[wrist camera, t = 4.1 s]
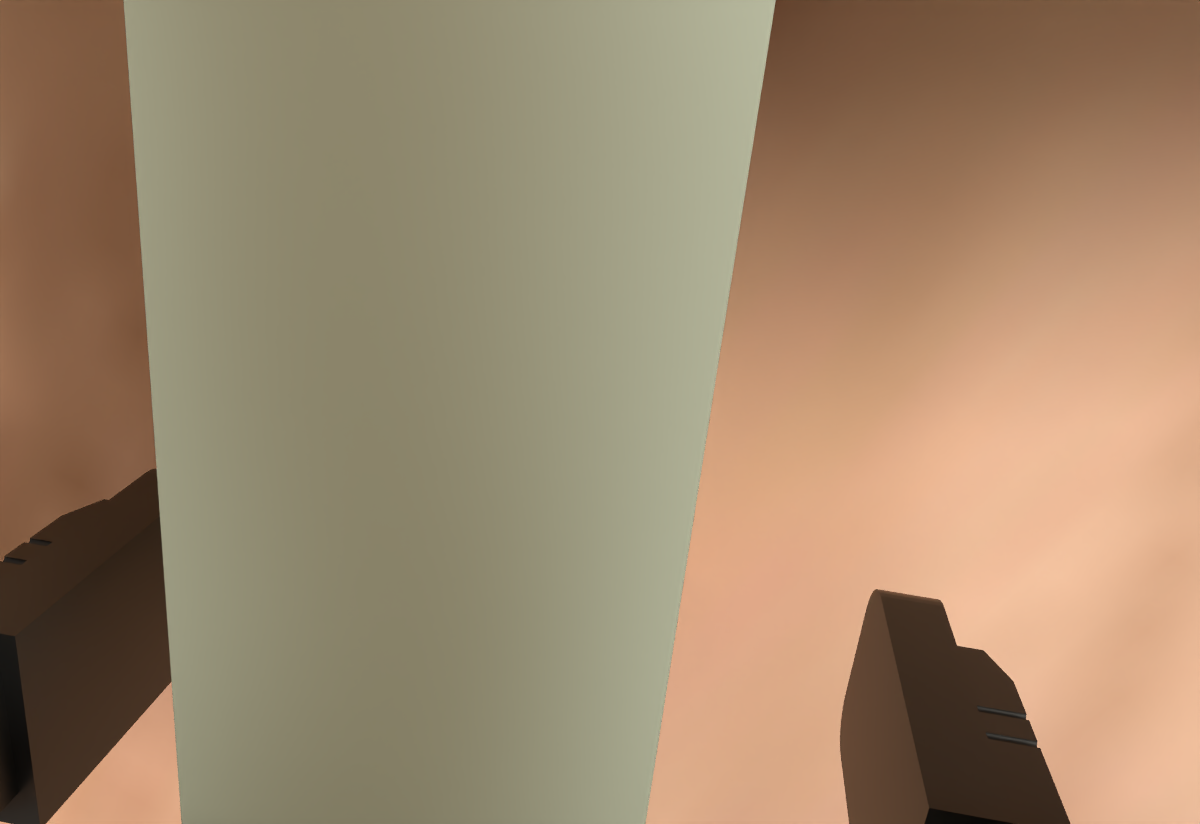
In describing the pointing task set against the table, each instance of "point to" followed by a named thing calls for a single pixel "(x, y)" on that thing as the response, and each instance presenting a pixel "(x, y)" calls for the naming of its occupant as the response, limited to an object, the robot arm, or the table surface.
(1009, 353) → the table surface
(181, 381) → the slotted plate
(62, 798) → the robot arm
